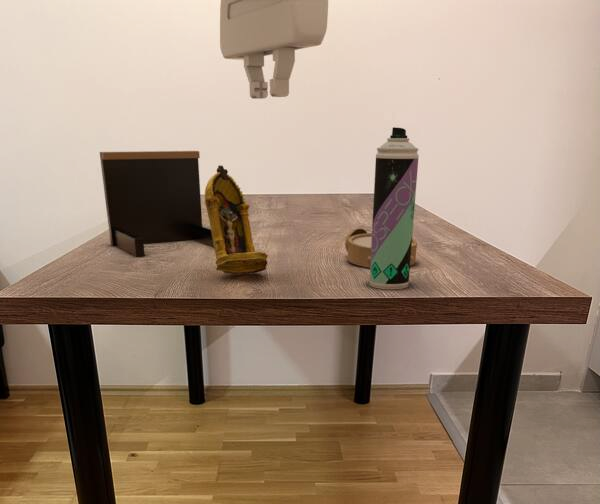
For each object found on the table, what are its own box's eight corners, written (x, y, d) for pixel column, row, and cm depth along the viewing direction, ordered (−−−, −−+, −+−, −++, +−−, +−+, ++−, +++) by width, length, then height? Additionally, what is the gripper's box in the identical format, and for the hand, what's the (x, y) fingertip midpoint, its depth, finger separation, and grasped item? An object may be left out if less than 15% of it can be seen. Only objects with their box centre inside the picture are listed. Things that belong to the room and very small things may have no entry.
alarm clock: (356, 250, 98) (338, 220, 110) (354, 281, 100) (336, 248, 112) (427, 249, 99) (401, 219, 111) (422, 279, 102) (398, 247, 114)
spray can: (362, 282, 91) (369, 127, 82) (395, 279, 93) (405, 127, 84) (382, 290, 86) (392, 127, 78) (416, 287, 88) (429, 127, 80)
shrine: (196, 272, 97) (189, 165, 91) (244, 266, 101) (240, 164, 95) (229, 286, 88) (224, 169, 82) (280, 279, 92) (279, 168, 86)
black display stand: (133, 257, 108) (122, 154, 101) (110, 244, 119) (99, 151, 113) (230, 248, 116) (226, 153, 109) (200, 238, 128) (194, 150, 121)
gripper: (204, -30, 77) (210, 100, 83) (285, -71, 61) (286, 93, 67) (251, -24, 80) (254, 101, 86) (340, -62, 64) (336, 94, 70)
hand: (268, 97), depth 76 cm, fingers open, 4 cm apart
